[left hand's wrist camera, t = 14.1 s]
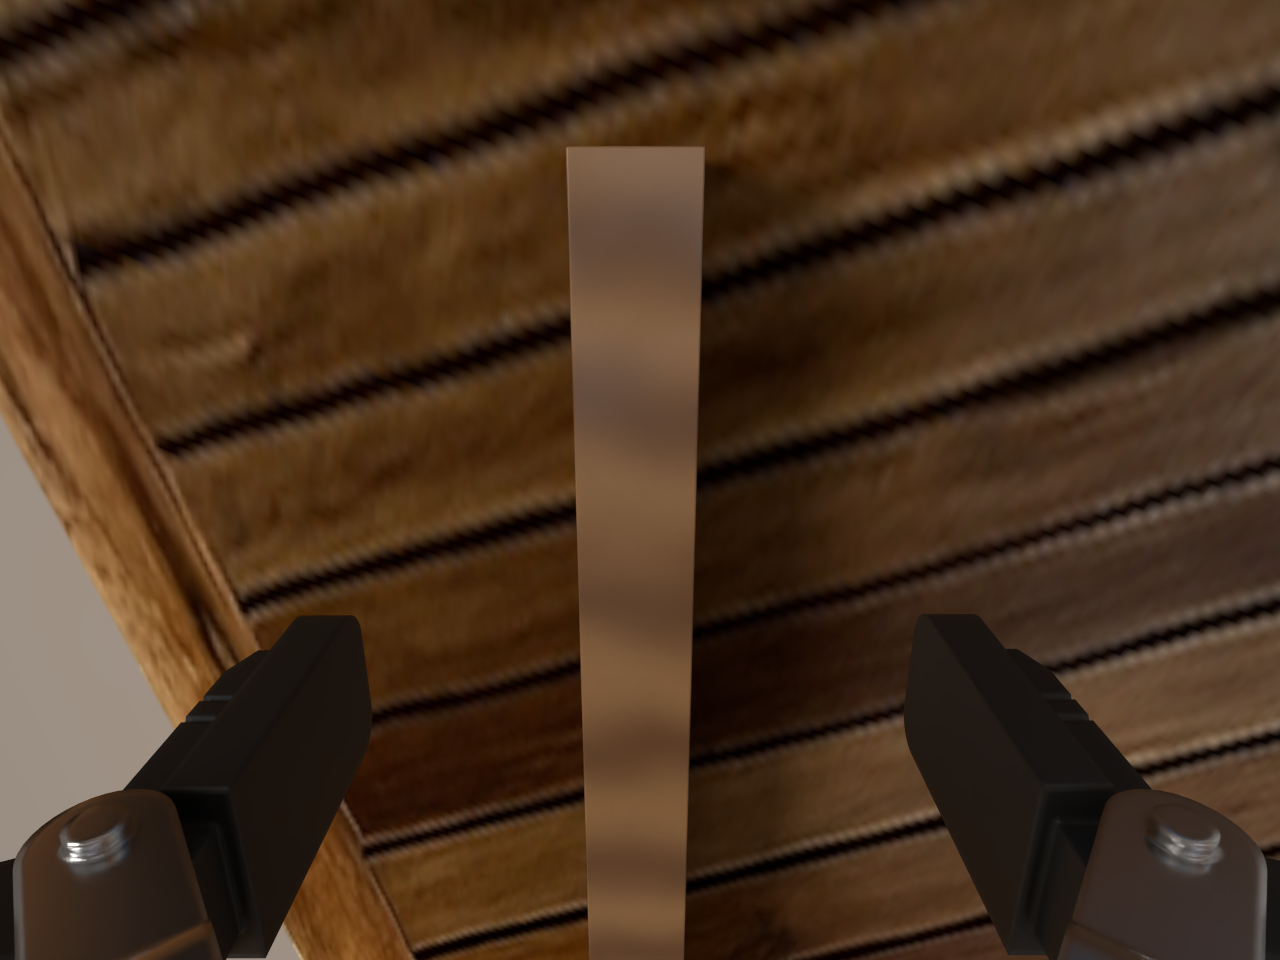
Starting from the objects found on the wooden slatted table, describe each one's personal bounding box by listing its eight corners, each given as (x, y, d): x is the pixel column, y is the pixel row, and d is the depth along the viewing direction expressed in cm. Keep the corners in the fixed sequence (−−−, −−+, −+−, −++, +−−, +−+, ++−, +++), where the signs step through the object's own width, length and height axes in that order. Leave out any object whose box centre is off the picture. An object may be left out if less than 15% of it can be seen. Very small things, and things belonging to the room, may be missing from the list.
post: (582, 156, 34) (565, 145, 26) (690, 156, 34) (705, 145, 26) (603, 1095, 54) (597, 1250, 46) (671, 1095, 54) (676, 1250, 46)
